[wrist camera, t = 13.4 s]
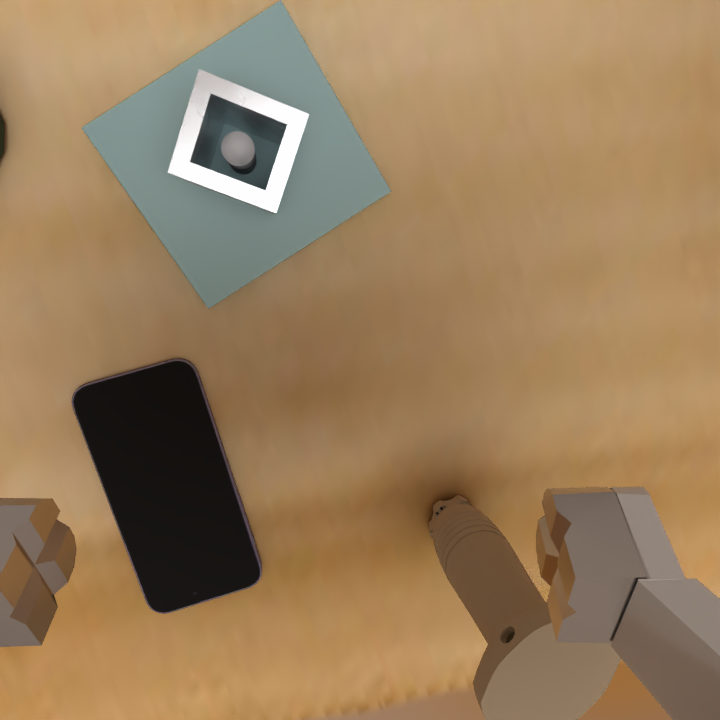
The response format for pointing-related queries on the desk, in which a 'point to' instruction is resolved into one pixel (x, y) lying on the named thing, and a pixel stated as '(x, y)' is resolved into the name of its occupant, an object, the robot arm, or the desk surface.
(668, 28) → the desk surface
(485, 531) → the handle
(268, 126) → the grey hollow box
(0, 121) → the character mug
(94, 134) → the post base
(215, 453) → the smartphone
